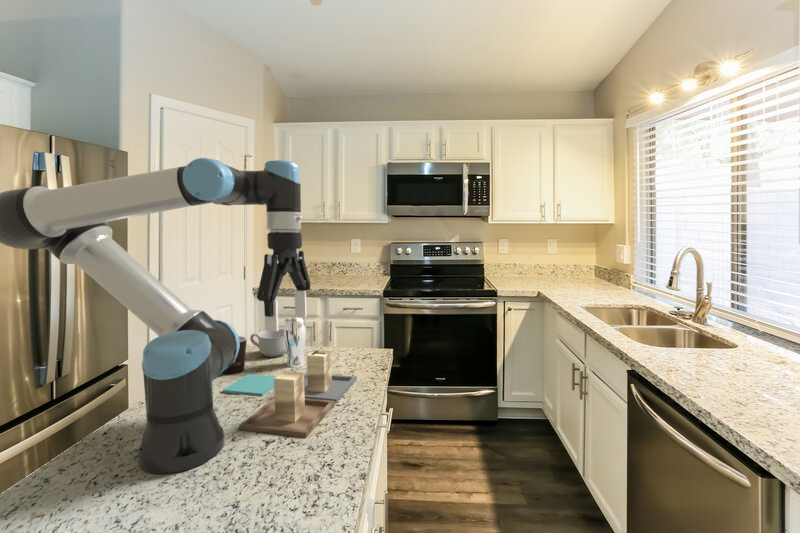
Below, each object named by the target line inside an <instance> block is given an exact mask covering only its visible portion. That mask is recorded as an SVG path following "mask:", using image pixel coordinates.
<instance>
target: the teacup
mask: <svg viewBox="0 0 800 533" xmlns="http://www.w3.org/2000/svg"><path fill="white" fill-rule="evenodd" d="M254 337H256V338H257V340H258V341H255V339H254ZM249 339H250V342H251V344H253V345H254V347H255V346H256V347H257V348H258V349H259V352H260V353H261V354H262V355H264V356H265V357H269V358H276V357H280V356H282V355H284V354H285V353H286V352H287V348H286V343H285V338H284V328H279V331H265V330H262V331H260V332H259V333H258V332H254V333H252V334H251V335H250V337H249Z"/></svg>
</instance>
